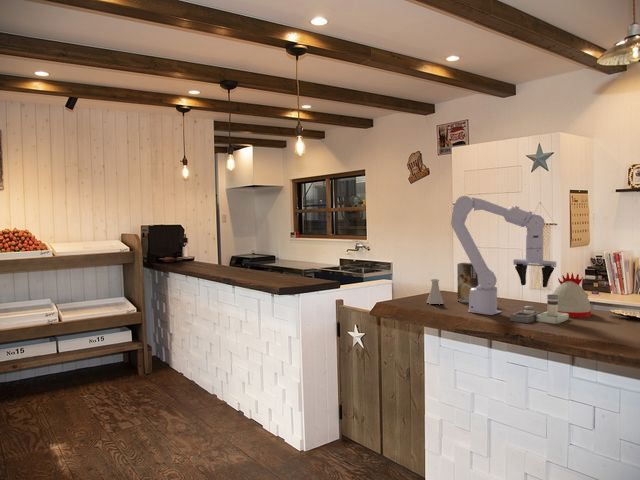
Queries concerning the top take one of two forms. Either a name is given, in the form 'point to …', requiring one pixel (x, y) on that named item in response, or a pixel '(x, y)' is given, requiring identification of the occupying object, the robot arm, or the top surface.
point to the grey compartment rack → (525, 315)
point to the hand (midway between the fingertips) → (534, 286)
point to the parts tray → (552, 318)
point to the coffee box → (466, 280)
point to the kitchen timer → (572, 297)
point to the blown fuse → (552, 305)
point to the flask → (435, 293)
